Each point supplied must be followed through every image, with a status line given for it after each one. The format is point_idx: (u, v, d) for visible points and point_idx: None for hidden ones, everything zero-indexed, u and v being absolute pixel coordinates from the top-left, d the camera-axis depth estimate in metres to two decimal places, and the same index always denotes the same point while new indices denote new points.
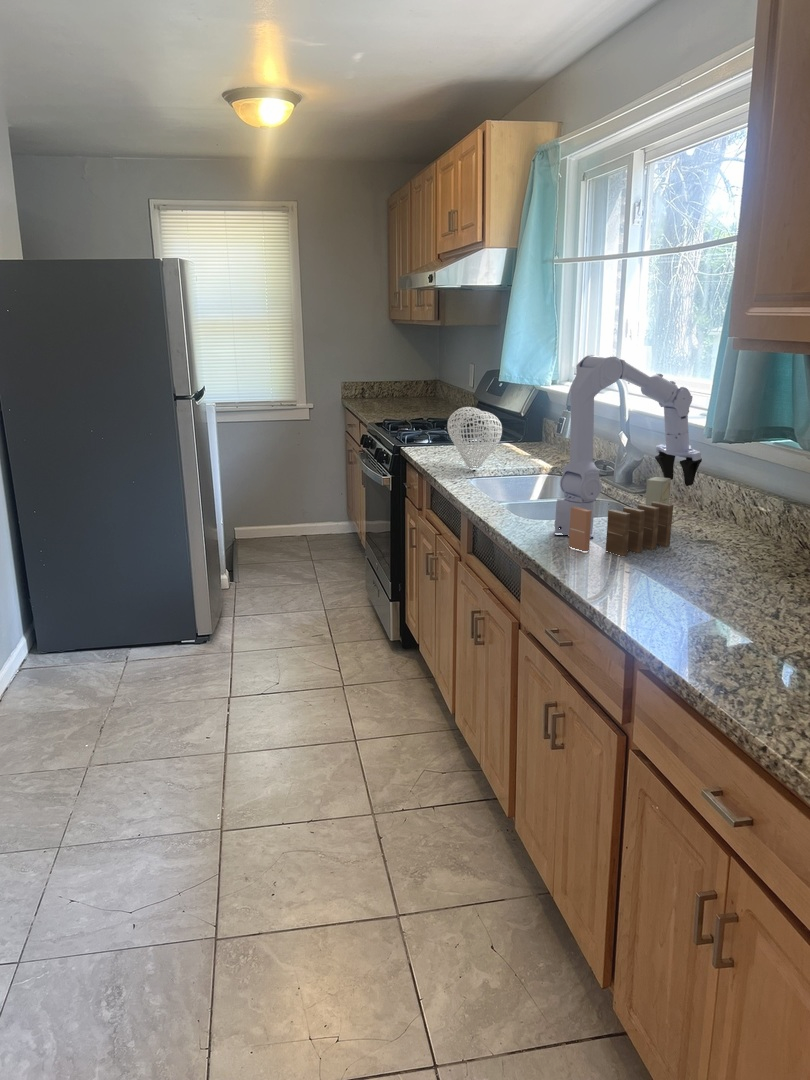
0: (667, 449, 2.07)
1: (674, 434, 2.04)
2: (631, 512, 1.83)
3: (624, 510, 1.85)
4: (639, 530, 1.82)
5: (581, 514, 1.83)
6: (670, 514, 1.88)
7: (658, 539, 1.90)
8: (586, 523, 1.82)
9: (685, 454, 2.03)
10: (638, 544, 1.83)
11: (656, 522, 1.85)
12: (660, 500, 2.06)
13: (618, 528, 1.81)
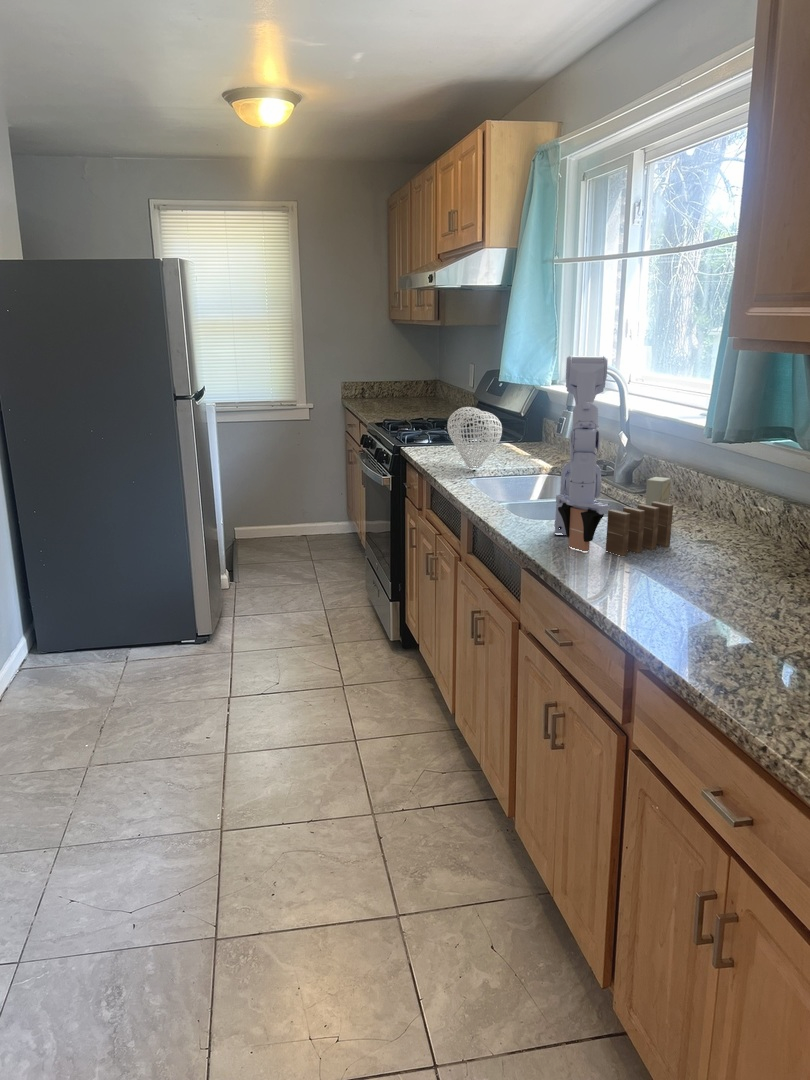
0: None
1: None
2: (631, 512, 1.83)
3: (624, 510, 1.85)
4: (639, 530, 1.82)
5: None
6: (670, 514, 1.87)
7: (658, 539, 1.90)
8: None
9: None
10: (638, 544, 1.83)
11: (656, 522, 1.85)
12: (660, 500, 2.06)
13: (618, 528, 1.81)
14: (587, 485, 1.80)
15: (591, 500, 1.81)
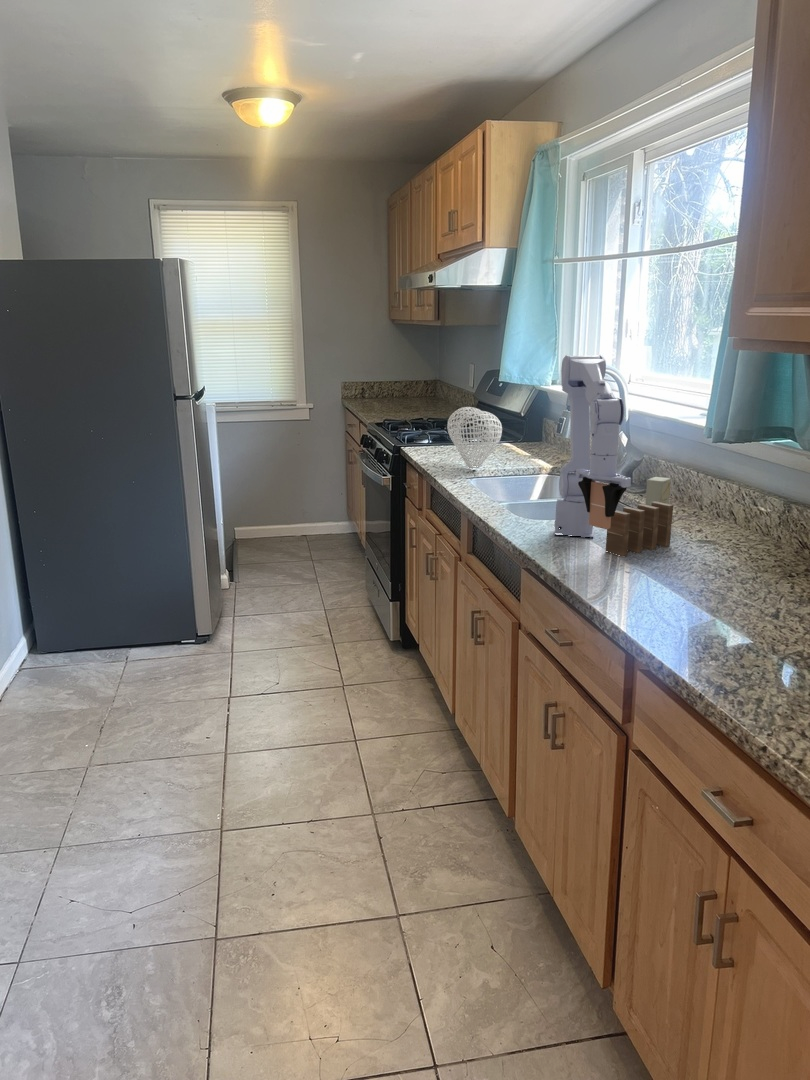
0: None
1: None
2: (631, 512, 1.83)
3: (624, 510, 1.85)
4: (639, 530, 1.82)
5: (602, 488, 1.76)
6: (670, 514, 1.88)
7: (658, 539, 1.90)
8: None
9: None
10: (637, 544, 1.83)
11: (656, 522, 1.85)
12: (660, 500, 2.06)
13: (618, 528, 1.81)
14: (609, 458, 1.73)
15: (613, 473, 1.74)
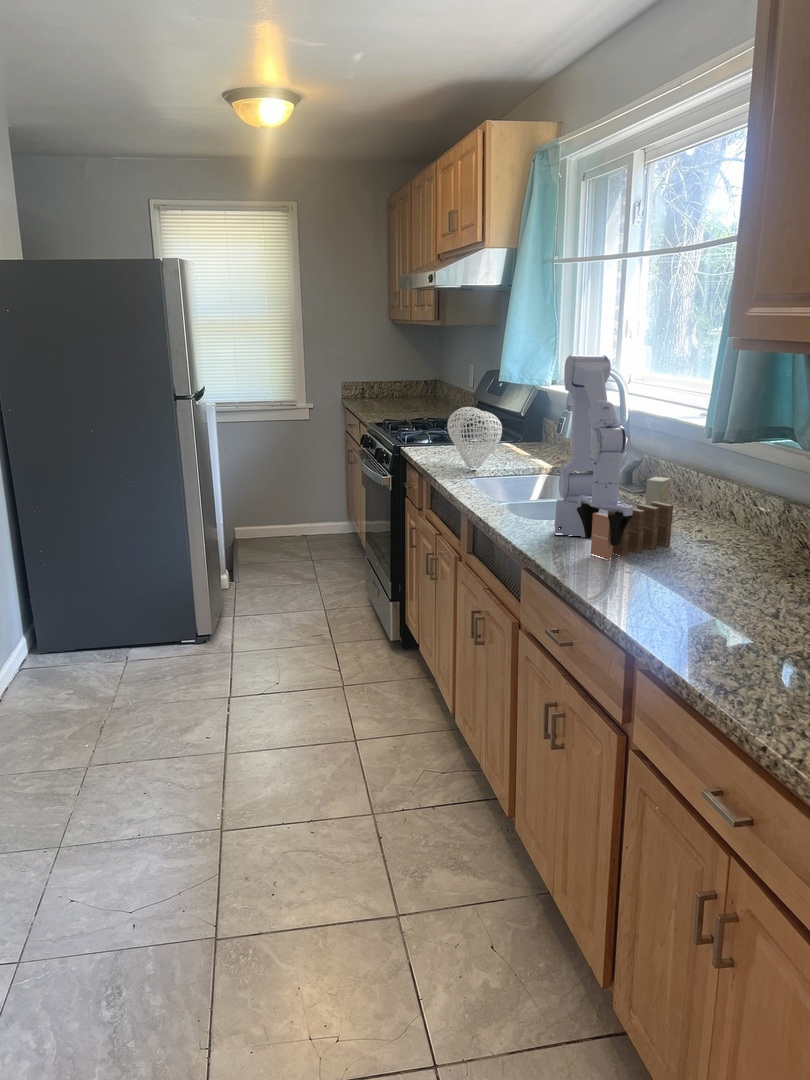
0: None
1: None
2: None
3: None
4: (639, 530, 1.82)
5: (604, 520, 1.77)
6: (670, 514, 1.88)
7: (658, 539, 1.90)
8: (609, 530, 1.77)
9: None
10: (638, 544, 1.83)
11: (656, 522, 1.85)
12: (660, 500, 2.06)
13: None
14: (610, 486, 1.74)
15: (615, 501, 1.75)
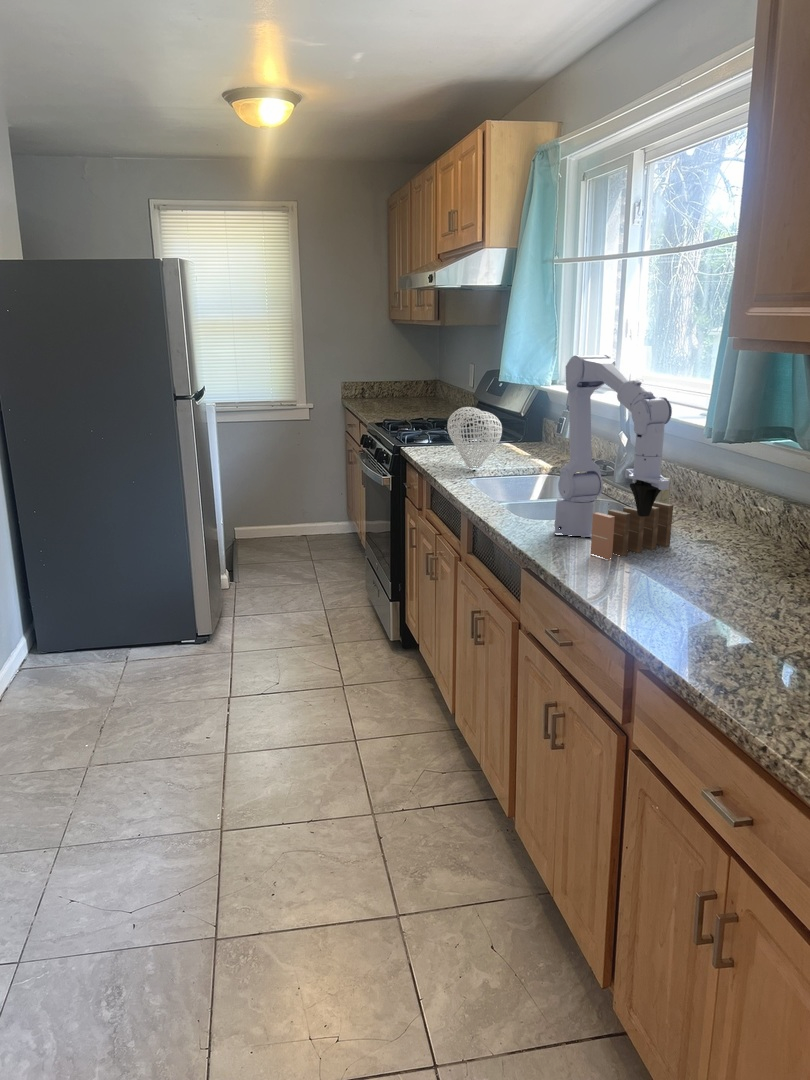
0: None
1: None
2: (631, 512, 1.83)
3: (624, 510, 1.85)
4: (639, 530, 1.82)
5: (604, 520, 1.77)
6: (670, 514, 1.87)
7: (658, 539, 1.90)
8: (609, 530, 1.77)
9: None
10: (638, 544, 1.83)
11: (656, 522, 1.85)
12: (660, 500, 2.06)
13: (618, 528, 1.81)
14: (649, 459, 1.69)
15: (655, 475, 1.71)
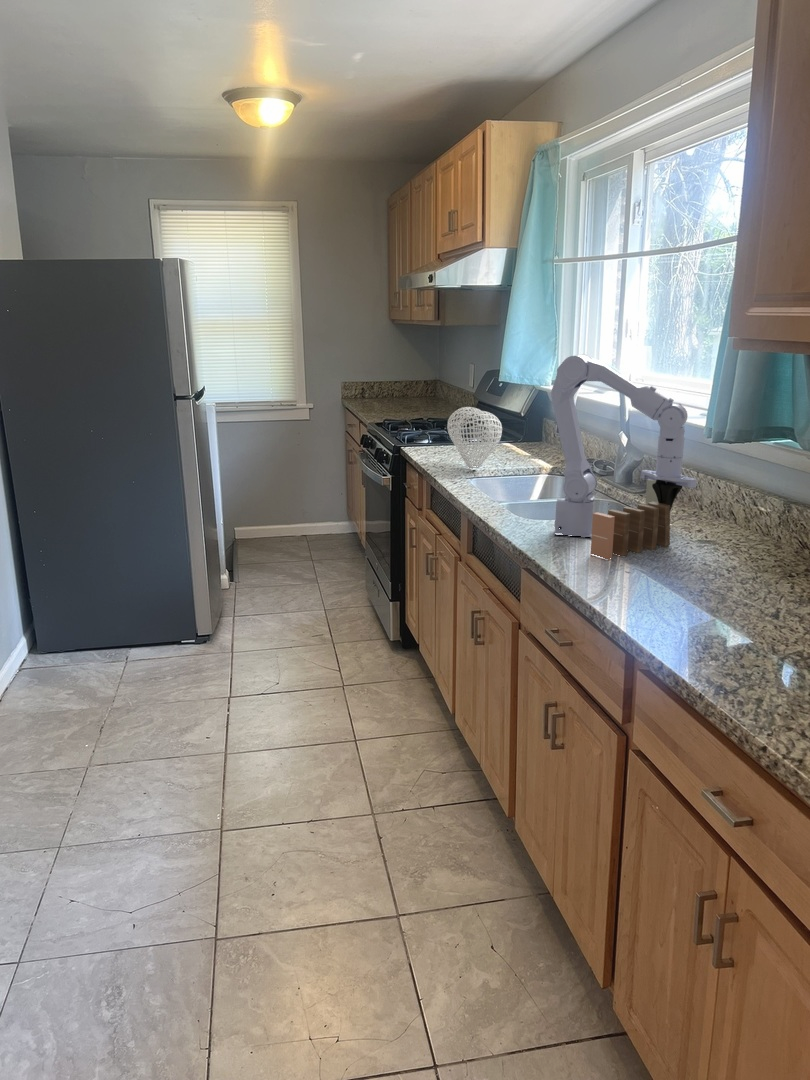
0: None
1: None
2: (631, 512, 1.83)
3: (624, 510, 1.85)
4: (639, 530, 1.82)
5: (604, 520, 1.77)
6: (667, 514, 1.87)
7: (658, 539, 1.90)
8: (609, 530, 1.77)
9: None
10: (638, 544, 1.83)
11: (656, 522, 1.85)
12: None
13: (618, 528, 1.81)
14: (675, 460, 1.84)
15: (679, 474, 1.86)
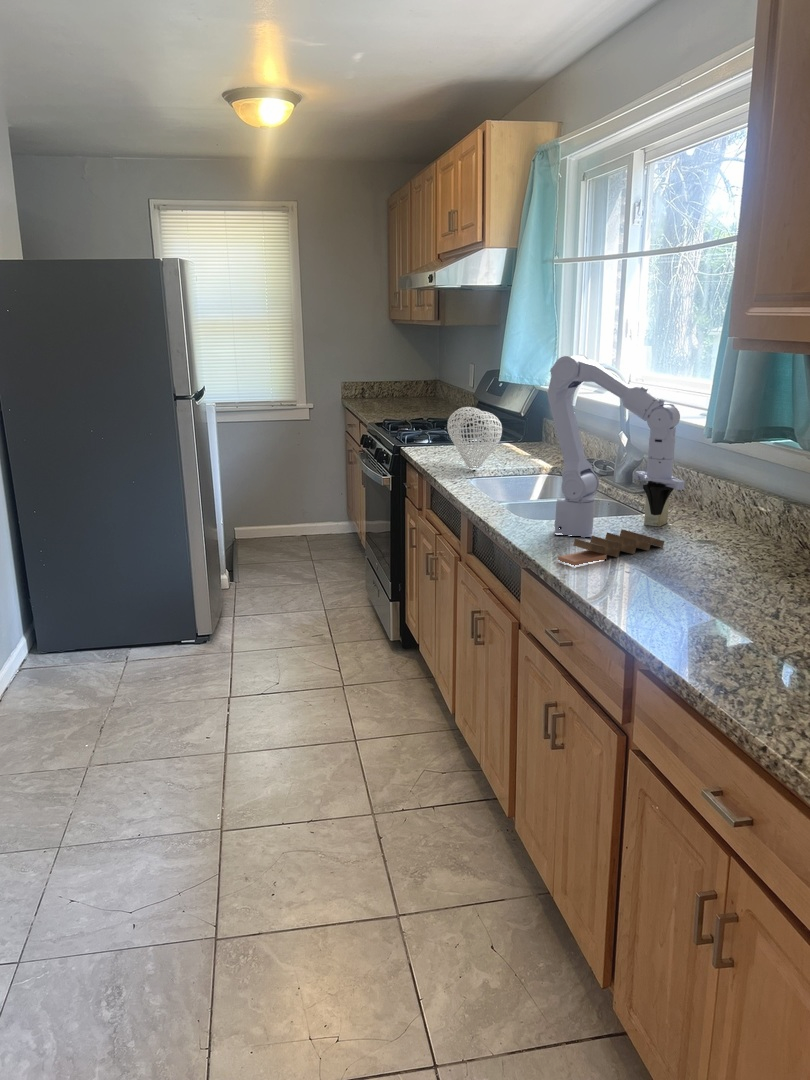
0: None
1: None
2: None
3: None
4: (619, 549, 1.80)
5: None
6: (643, 538, 1.84)
7: None
8: None
9: None
10: (628, 552, 1.82)
11: (632, 542, 1.82)
12: None
13: None
14: (664, 461, 1.82)
15: (668, 476, 1.84)
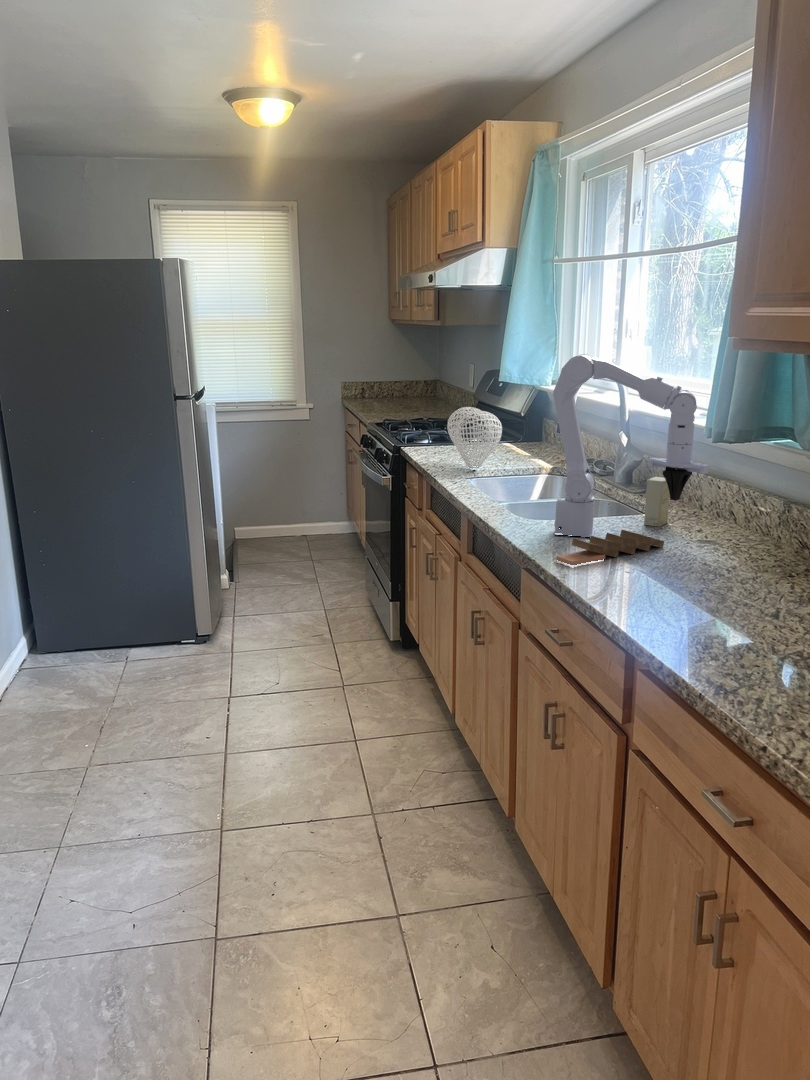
0: None
1: None
2: (599, 545, 1.80)
3: None
4: (618, 549, 1.80)
5: None
6: (643, 538, 1.84)
7: None
8: None
9: None
10: (627, 552, 1.82)
11: (632, 542, 1.82)
12: (660, 500, 2.06)
13: None
14: (687, 447, 1.85)
15: (689, 461, 1.87)
